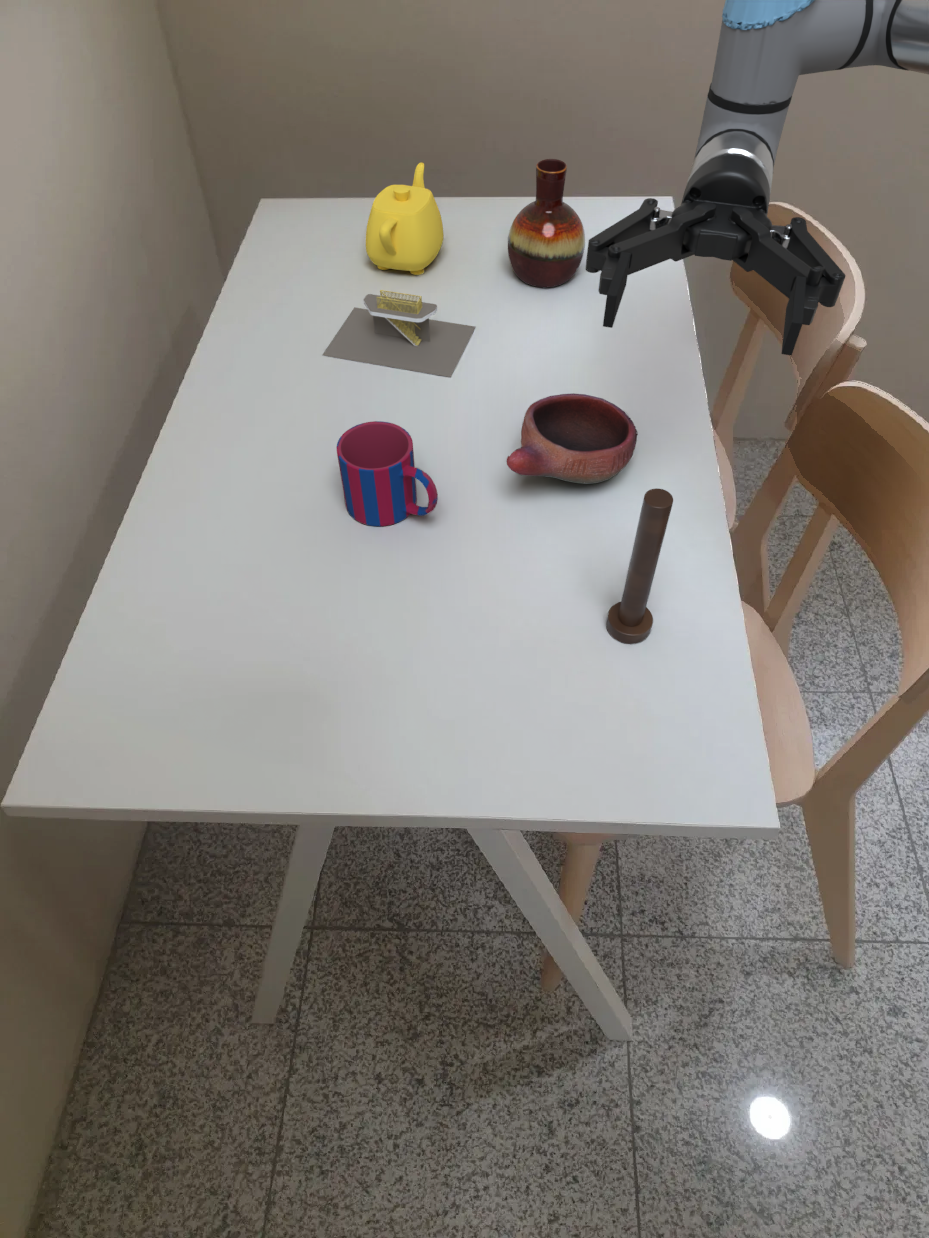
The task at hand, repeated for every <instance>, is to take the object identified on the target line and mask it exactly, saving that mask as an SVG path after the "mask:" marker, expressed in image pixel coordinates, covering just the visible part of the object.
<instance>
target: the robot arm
mask: <svg viewBox="0 0 929 1238" xmlns="http://www.w3.org/2000/svg"><path fill="white" fill-rule="evenodd" d="M721 18H722V20H721V26H720V31H719V37H718V43H717V50H716V55H715V60H714V66H713V72H712V78H711V82H710V84H709V89H708V92H707V95H706V100H705V104H704V110H703V116H702V121H701V125H700V129H699V130H700V131H699V135H698V138H697V145H696V149H695V154H694V158H693V161H692V164H691V165H690V169H689V174H688V177H687V180H686V185H685V188H684V192H683V195H682V199H681V202H680V205H679V206H677V207H676V208H675V209H673V211H670V210H664V209H661V208H660V207H659V206H658V203H659V200H657V199H656V198H652V197H648V198H645V199H644V200H643V202H642V203H641V205H640V207H639V208H637V210H635V211H633V212H632V213H630V214H629V215H627V216H625V217H624V218H622V219H620V220H618V221H617V222H615V223H614V224H612V225H610V226H609V227H607V228H605V229H604V230H602V231H600V232H599V233H598V234H595V235H594V236H592V237H591V238H589V239H588V241H587V243H588V244H587V250H586V259H585V260H586V261H585V271H586V272H587V273H590V274H595V273H598V272H600V274H599V283H598V289H597V290H598V293H599V295H604V296H606V299H605V307H604V314H603V321H602V327H604V328H605V327H606V328H611V329H612V328H613V327H614V324H615V320H616V318H617V314H618V312H619V308H620V305H621V302H622V300H623V296H624V293H625V289H626V287H627V282H628V277H629V276H631V275H632V274H635V273H637V272H640V271H642V270H645V269H648V268H650V267H652V266H656V265H659V264H661V263H663V262H666V261H669V260H671V261H673V262H678V261H681V260H684V259H686V258H687V259H688V258H689V257H691V256H694V257H701V258H716V259H720V260H723V261H729V262H730V261H731V262H732V261H733V262H734V263H735V264H736V265H738V266H739V267H740V268H741V269H743V270H744V271H745V272H747V273H748V272H752V271H754V272H755V273H756V274H757V275H759V276H760V277H761V278H762V279H764V281H766V282H768V283H769V284H770V285H771V286H772V287H773V288H775V289H776V290H777V291H779V292H780V293H781V294H782V295H784V296H785V297H786V298H787V299H788V301H787V303H786V308H785V315H784V326H783V333H782V345H781V353H780V354H781V355H785V356H791V357H792V356H793V354H794V350H795V347H796V344H797V341H798V339H799V336H800V332H801V331H802V330H801V329H802V328H803V327H802V326H803V325H805V326H811V324H812V323H813V321H814V318H815V315H816V313H817V310H818V306H819V304H820V305H821V306H823V307H824V308H833V307H835V306H836V303H837V301H838V298H839V296H840V293H841V290H842V288H843V285H844V282H845V279H846V277H847V276H846V273H845V272H844V271H843V270H842V269H841V268H840V267H839V265H838V264H836V262H835V261H834V260H833V258H831V256H830V255H829V254H828V253H827V251H826V250H825V249H824V248H823V247H822V246H821V244H819V242H818V241H817V240H816V239H815V238H814V237H813V235H811V233H810V232H809V231H808V225H807V220H806V219H805V218H804V217H800V216H795V217H792V218H791V219H790V223H788V224H785V225H778V224H773V223H772V220H771V219H770V218H769V217H768V212H769V206H770V200H771V193H772V186H773V177H774V170H775V169H774V168H775V163H776V159H777V153H778V149H779V146H780V145H779V144H780V141H781V137H782V134H783V130H784V127H785V122H786V119H787V115H788V112H789V108H790V104H791V102H792V98H793V94H794V92H795V88H796V85H797V81H798V79H799V76H803V75H810V74H811V75H812V74H817V73H825V72H833V71H841V70H844V69H852V68H860V67H869V66H871V67H872V66H878V67H879V66H880V67H886V68H891V69H895V70H902V71H910V72H913V73H919V74H925V75H929V0H725V1H724V5H723V9H722V15H721Z"/></svg>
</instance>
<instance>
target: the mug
mask: <svg viewBox="0 0 929 1238" xmlns="http://www.w3.org/2000/svg"><path fill="white" fill-rule="evenodd" d="M414 454H415V453H414V442H413V439H412V435H410V432H409V431H407V430H406V429H405V428H404V427H402V426H400V425H398V424H396V423H393V422H389V421H381V420H379V421H378V420H375V421H366V422H361V423H360V424H359V423H358V424H356V425H354V426H352V427H350V428H349V429H347V430H346V431H344V433H342V435H341V436H340V437H339V438H338V440H337V443H336V456H337V461H338V467H339V474H340V479H341V486H342V492H343V497H344V504H345V508H346V511H347V513H348V514H349V516H351V518H352V519H354V520H355V521H357V522H359V523H361V524H363V525H366V526H371V527H388V526H392V525H395V524H398V523H400V522H402V521H404V520H405V519H407V518H408V517H410V515H413V516H419V517H420V516H427V515H428V514H430V513H431V512H432V511H434V510H435V508H436V507H437V505H438V500H439V497H438V490H437V486H436V485H435V482H434V480H433V479H432V477H431V476H430V475H429V474H428V473H427V472H425V471H424V470H422V469H420V468H418V467H415V455H414ZM416 480H418V481H419V482H420V483H421V484H422V485H423V487H424V489H425V490H426V494H427V498H428V503H427V506H420V505H417V503H418V501H417V500H418V495H417V482H416Z"/></svg>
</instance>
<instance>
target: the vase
mask: <svg viewBox="0 0 929 1238" xmlns="http://www.w3.org/2000/svg"><path fill="white" fill-rule="evenodd" d="M567 170H568V164H567V163H566V162H565V161H563V160H561V159H557V158H544V159H541V160H539V161H538V162H537V163H536V164H535V186H536V187H535V200H533V201H532V202H530V203H528V204H527V205H525V206H524V207H523V208H522V209H521V210H520V211H519V212H518V213H517V215H516V216H515V217H514V219H513V220H512V223H511V225H510V228H509V230H508V237H507V254H508V259H509V262H510V266H511V268H512V271H513V272H514V273H515V275H516V276H517V277H518V279H519V280H521V281H522V282H523V283H525V284H526V285H529V286H533V287H537V288H553V287H559V286H561V285H563V284H565V283H566V282H568V281H569V280H570V279H572V277H573V276H574V275H575V274H576V272H577V271H578V269H579V268H580V265H581V262H582V260H583V257H584V254H585V253H584V252H585V247H586V233H585V227H584V224H583V222H582V219H581V218H580V216H579V215H578V214H577V212H576V211H575V210H574V208H572V207H571V206H570V205H569V204H567V203H566V202H564V192H565V191H564V189H565V183H566V177H567V172H568V171H567Z"/></svg>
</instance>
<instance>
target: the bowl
mask: <svg viewBox="0 0 929 1238" xmlns="http://www.w3.org/2000/svg"><path fill="white" fill-rule="evenodd" d="M521 425H522V426H521V432H520V437H521V439H520V444H521V445H520V446H521V447H520V448H516V450H514V451H512V452H511V453H510V455H508V456H507V457H506V466H507V467H508V469H510V470H511V471H512V472H514V473H516V474H518V475H519V476H530V477H531V476H532V477H546V478H552V479H553V478H554V479H556V480H557V479H558V480H560V481H565V482H568V483H575V484H581V485H583V484H584V485H587V484H588V485H589V484H598V483H602V482H605V481H607V480H610V479H611V478H613V477H615V476H616V475H618V474H619V473H620V472H621V471H622V470H624V468H625V467H626V466H627V465H628V464H629V462H630V460H631V459H632V457H633V456H634V452H635V449H636V446H637V441H638V435H639V434H638V430H637V429H636V428H637V427H636V425H635V424H634V422H633V420H632V419H631V417H630V416H629V414H628V413H627V412H625V410H623V409H622V408H620V407H619V406H617V405H616V404H614V403H613V402H611V401H609V400H606V399H604V398H602V397H599V396H594V395H589V394H585V393H574V392H573V393H561V394H560V393H559V394H554V395H549V396H546V397H543V398H541V399H538V400H537V401H535V402H533V403H531V404H530V405H529V407H527V410H526V411H525V413H524V417H523V421H522V424H521Z"/></svg>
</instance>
